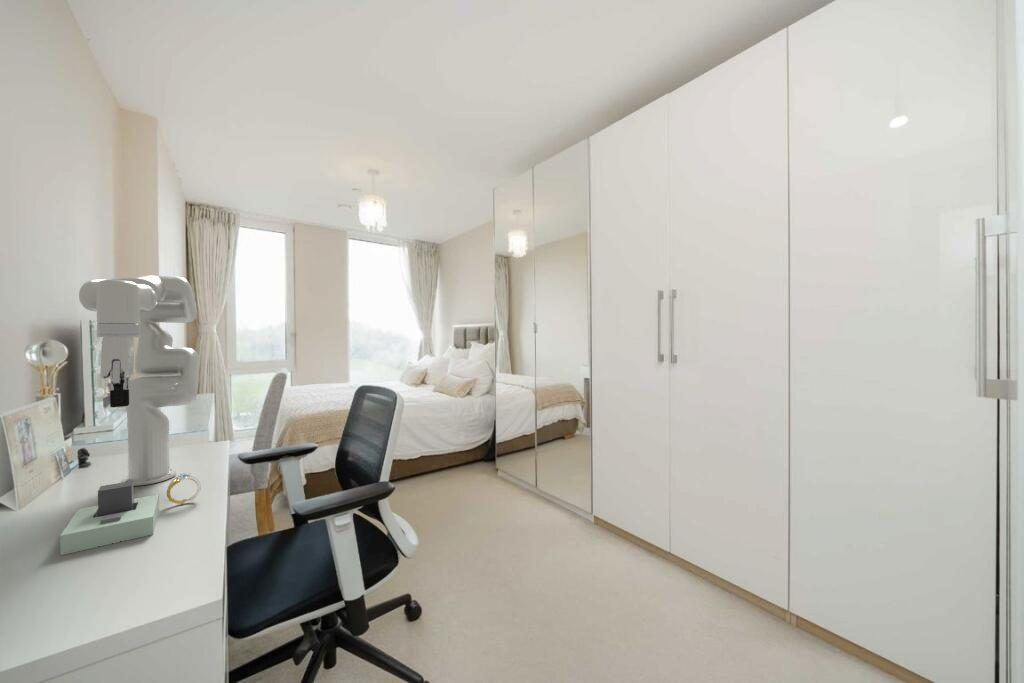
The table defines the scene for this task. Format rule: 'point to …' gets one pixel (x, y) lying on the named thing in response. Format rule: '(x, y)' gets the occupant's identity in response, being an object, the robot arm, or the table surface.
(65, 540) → the socket
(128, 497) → the plug
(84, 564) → the table surface
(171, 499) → the ring
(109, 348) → the robot arm
